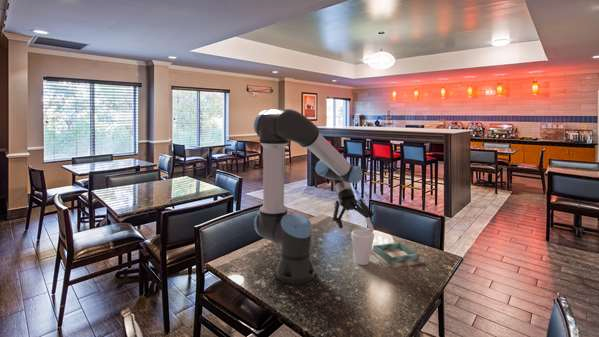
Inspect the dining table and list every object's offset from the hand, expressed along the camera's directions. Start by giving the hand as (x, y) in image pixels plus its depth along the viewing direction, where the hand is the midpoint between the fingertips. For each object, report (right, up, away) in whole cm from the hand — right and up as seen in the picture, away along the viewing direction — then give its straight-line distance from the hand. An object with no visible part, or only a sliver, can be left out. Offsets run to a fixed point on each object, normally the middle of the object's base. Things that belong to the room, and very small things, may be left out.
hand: (358, 232), depth 146 cm
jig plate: (+17, -11, +1) cm, 20 cm away
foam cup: (0, -12, -4) cm, 13 cm away
